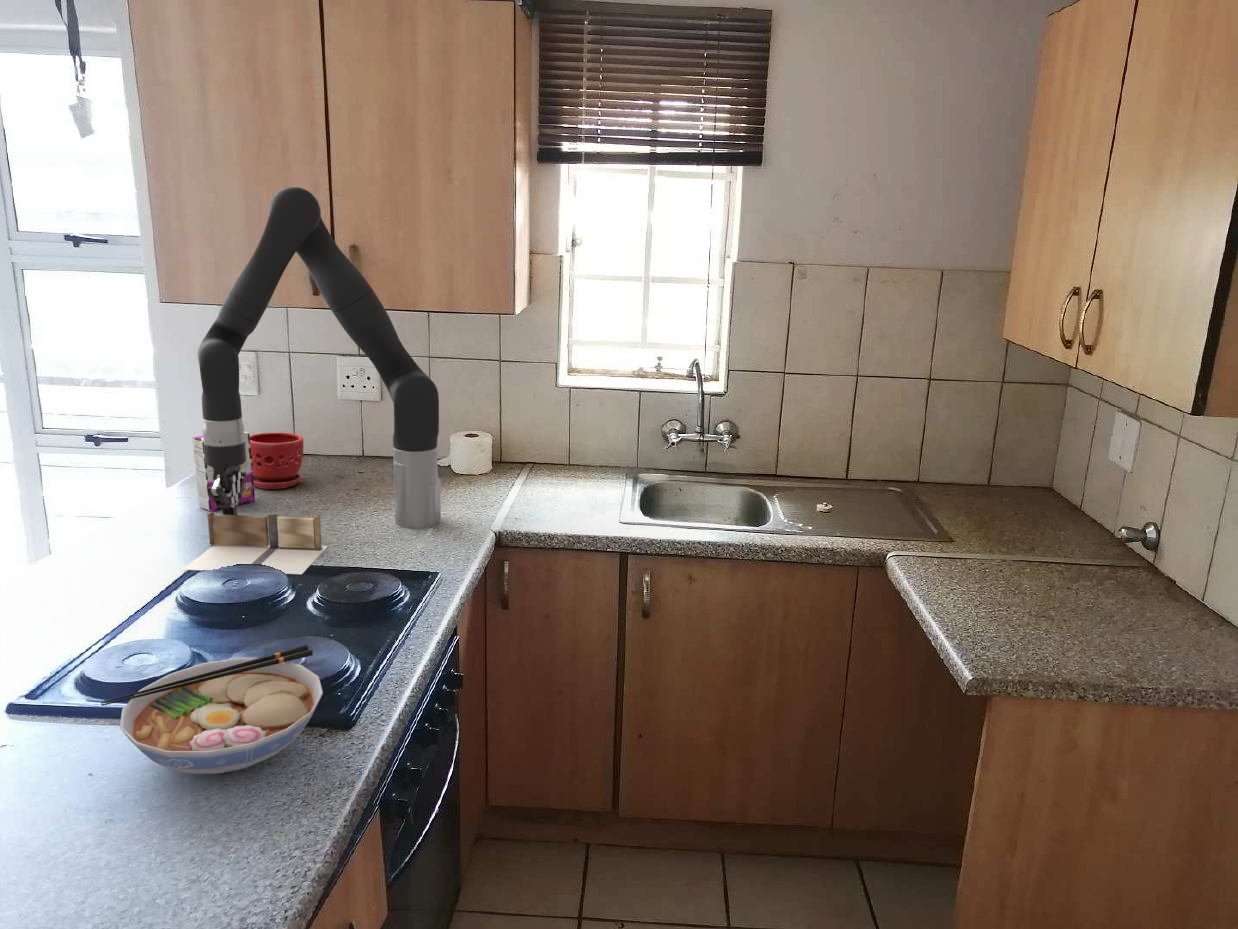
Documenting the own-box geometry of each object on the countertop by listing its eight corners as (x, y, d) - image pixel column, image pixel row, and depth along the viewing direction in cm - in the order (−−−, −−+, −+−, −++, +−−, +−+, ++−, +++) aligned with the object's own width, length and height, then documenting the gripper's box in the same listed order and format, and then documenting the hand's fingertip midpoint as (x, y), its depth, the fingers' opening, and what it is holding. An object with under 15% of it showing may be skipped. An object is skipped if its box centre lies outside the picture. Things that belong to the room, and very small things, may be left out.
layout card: (328, 547, 182) (327, 545, 182) (301, 576, 168) (301, 573, 168) (218, 543, 182) (218, 541, 182) (182, 571, 168) (182, 569, 168)
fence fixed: (322, 548, 181) (321, 515, 179) (320, 550, 180) (318, 518, 178) (271, 546, 181) (269, 513, 179) (268, 548, 180) (266, 516, 178)
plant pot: (287, 494, 216) (284, 445, 213) (237, 489, 218) (233, 440, 215) (315, 479, 228) (313, 433, 225) (267, 475, 230) (264, 428, 227)
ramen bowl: (133, 841, 97) (125, 773, 95) (101, 740, 115) (94, 681, 112) (361, 767, 111) (358, 706, 109) (302, 688, 129) (299, 635, 127)
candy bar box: (243, 496, 212) (238, 428, 208) (255, 501, 210) (251, 431, 205) (197, 507, 204) (191, 436, 200) (209, 512, 201) (203, 440, 197)
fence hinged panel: (269, 544, 181) (267, 514, 179) (266, 546, 180) (264, 516, 178) (211, 542, 181) (208, 511, 179) (208, 544, 180) (206, 513, 178)
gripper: (228, 449, 173) (235, 535, 177) (256, 433, 186) (262, 514, 190) (189, 447, 173) (196, 533, 177) (220, 431, 186) (226, 512, 190)
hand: (230, 523), depth 184 cm, fingers closed
